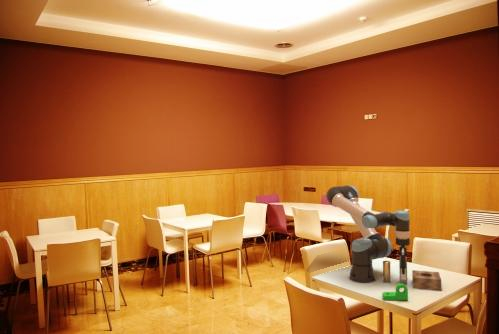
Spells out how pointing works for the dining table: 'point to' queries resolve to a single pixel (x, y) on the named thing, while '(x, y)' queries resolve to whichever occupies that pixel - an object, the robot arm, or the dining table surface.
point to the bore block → (426, 280)
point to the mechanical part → (396, 293)
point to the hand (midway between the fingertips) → (403, 277)
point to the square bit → (400, 271)
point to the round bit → (386, 272)
